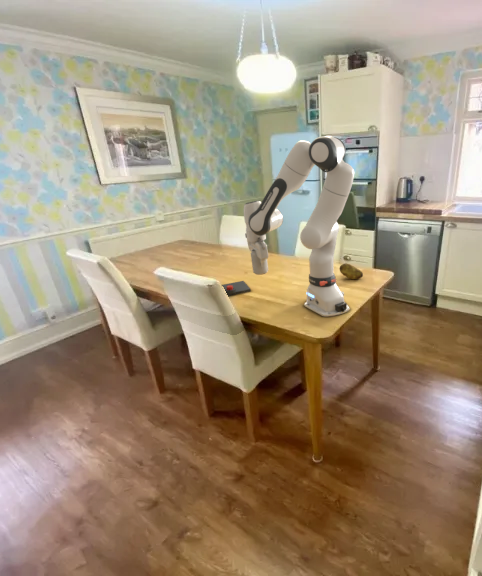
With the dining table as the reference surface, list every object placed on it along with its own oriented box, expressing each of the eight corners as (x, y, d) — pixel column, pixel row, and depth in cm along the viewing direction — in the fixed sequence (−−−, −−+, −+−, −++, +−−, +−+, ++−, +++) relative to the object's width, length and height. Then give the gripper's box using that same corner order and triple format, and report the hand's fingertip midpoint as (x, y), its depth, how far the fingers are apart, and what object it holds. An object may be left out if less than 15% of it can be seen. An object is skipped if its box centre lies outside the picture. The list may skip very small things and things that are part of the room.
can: (265, 275, 154) (262, 251, 149) (250, 275, 155) (247, 251, 151) (270, 270, 160) (268, 247, 156) (256, 270, 162) (253, 247, 157)
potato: (356, 282, 174) (356, 268, 171) (337, 277, 182) (337, 264, 179) (364, 278, 180) (364, 264, 177) (345, 273, 187) (345, 260, 184)
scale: (251, 292, 166) (250, 286, 165) (226, 297, 160) (225, 291, 159) (243, 282, 178) (242, 277, 177) (220, 287, 173) (219, 282, 171)
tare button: (233, 289, 162) (233, 286, 162) (227, 291, 161) (227, 287, 160) (232, 287, 165) (231, 284, 164) (226, 289, 164) (225, 285, 163)
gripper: (269, 239, 144) (273, 268, 149) (256, 231, 160) (259, 257, 166) (256, 241, 141) (260, 270, 146) (244, 233, 158) (247, 260, 163)
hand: (259, 263), depth 156 cm, fingers closed on can, 7 cm apart
